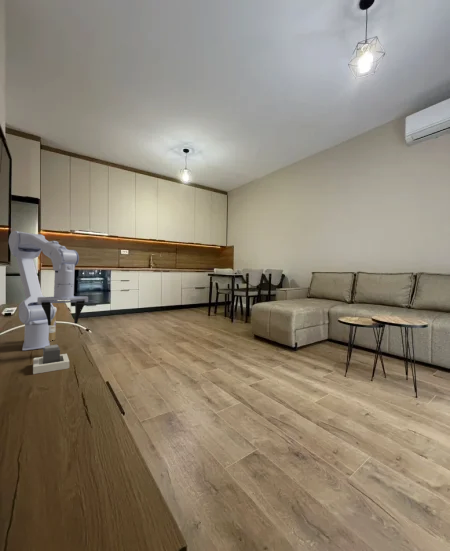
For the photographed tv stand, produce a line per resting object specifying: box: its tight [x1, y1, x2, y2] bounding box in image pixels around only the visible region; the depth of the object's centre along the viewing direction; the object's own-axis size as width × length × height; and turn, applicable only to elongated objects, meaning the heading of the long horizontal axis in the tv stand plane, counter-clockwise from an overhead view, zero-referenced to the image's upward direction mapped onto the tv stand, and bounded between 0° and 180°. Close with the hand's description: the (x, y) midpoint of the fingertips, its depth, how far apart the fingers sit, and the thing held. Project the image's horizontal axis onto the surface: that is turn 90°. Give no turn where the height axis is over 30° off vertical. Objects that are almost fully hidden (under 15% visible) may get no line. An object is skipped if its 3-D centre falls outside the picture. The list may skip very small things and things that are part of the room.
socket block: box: [32, 353, 70, 375], centre depth 75 cm, size 8×8×2 cm
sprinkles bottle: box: [49, 306, 58, 342], centre depth 102 cm, size 5×5×14 cm
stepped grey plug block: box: [42, 344, 61, 364], centre depth 75 cm, size 4×4×6 cm
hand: (62, 323), depth 86 cm, fingers open, 7 cm apart
